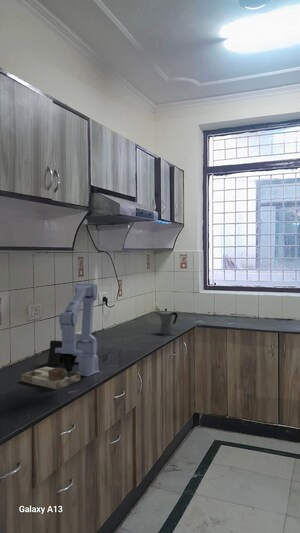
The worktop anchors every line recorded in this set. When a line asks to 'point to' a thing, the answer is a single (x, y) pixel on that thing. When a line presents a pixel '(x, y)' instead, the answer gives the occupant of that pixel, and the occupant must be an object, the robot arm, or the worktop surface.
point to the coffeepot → (166, 321)
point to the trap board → (42, 378)
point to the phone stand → (55, 357)
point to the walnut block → (56, 374)
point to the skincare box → (75, 343)
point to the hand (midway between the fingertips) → (69, 371)
